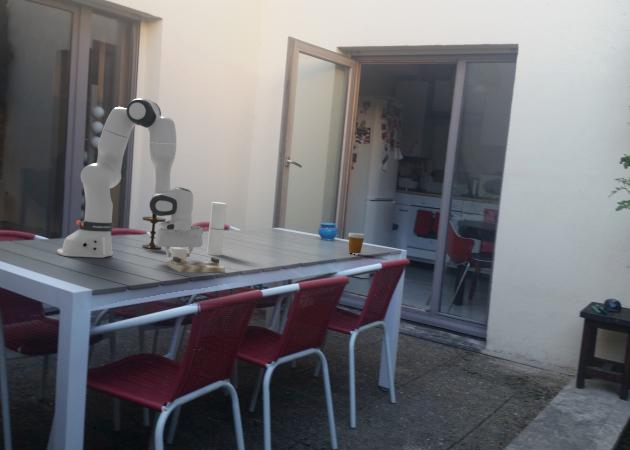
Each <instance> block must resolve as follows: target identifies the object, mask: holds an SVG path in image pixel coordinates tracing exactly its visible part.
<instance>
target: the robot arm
mask: <svg viewBox="0 0 630 450" xmlns="http://www.w3.org/2000/svg"><path fill="white" fill-rule="evenodd" d="M126 106H127V107H121V106H118V107H117V106H116V107H114V108H113V109H112V110H111V111H110V113H109V114H108V116H107V118H106V121H105V123H104V126H103V128H102V131H101V134H100V137H99V141H98V143H97V158H96V159H97V160H96V162H94V163H91V164H90V163H89V164H88V165H86V166H85V167H84V168H83V169H82V170H81V172H80V180H81V183H82V185H83V191H84V198H85V206H84V207H85V209H84V220H82V221H81V220H77V221H76V222H75V223H76V225H77V226H78V229H77V230H75V231H74V232H73V233H71V234H69V235H67V236H66V237H65V238H64V240H63V243H62V244H63V245H62V248H58V249H57V251H56V253H57V254H58V255H61V256H63V257H64V256H65V257H75V258H76V257H78V258H81V257H82V258H83V257H84V258H105V257H111V256H113V255H114V254H113V253H114V252H113V248H112V234H113V222H112V220H113V219H112V218H113V207H114V204H113V201H112V197H111V189H113V188H115V187H116V186H117V185H118V184H119V183H120V182H121V181H122V180H121V179H122V167H123V166H122V165H123V161H124V160H123V159H124V155H125V151H126V149H127V145H128V142H129V141H130V140H129V139H130V137H131V134H132V131H133V129H134V127H135V126H140V127H143V128H147V130H148V132H149V155H150V159H151V162H152V165H153V167H154V172H155V180H154V181H155V185H154V192H155V193H154V194H153V195H152V197H151V199H150V201H149V209H150V211H151V212H153V213H154V214H155V215H157V217H165V216H170V219H169V220H166V221H165V222H159V226H158V227H159V229H158V230H157V232H156V237H155V245H157V246H160V247H161V248H162V247H164V251H165V253H166V258H170V257H171V253H170V248H171V247H173V248H187V249H188V251H187V254H186V258H190V257H191V253H192V252H193V250H194V248H201V247H202V246H203V235H204V228H203V227H201V226H200V225H192V223H193V221H192V220H193V218H192V217H193V216H192V214H193V210H194V194H193V191H191V190H190V189H189V188H185V187H180V186H176V187H174V188H172V189H171V171H172V167H173V165H174V161H175V158H176V157H175V156H176V152H177V131H176V124H175V121H174V120H173V119H171V118H170V117H167V116H162V112H161V108H160V106H159V105H158V104H157V102H154V101H152V100H150V99H148V98H140V97H139V98H135V99H132V100H131V101H129V102H128V104H127V105H126Z"/></svg>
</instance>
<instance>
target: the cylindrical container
mask: <svg viewBox="0 0 630 450" xmlns="http://www.w3.org/2000/svg"><path fill="white" fill-rule="evenodd" d="M226 213H227V203H226V202H221V201H220V202H219V201H211V204H210V215H209V227H208V236H207V237H208V238H207V246H206V247H207V249H206V254H207V255H209V254H210V256H222V254H223V243H224V233H225V222H226Z"/></svg>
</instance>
